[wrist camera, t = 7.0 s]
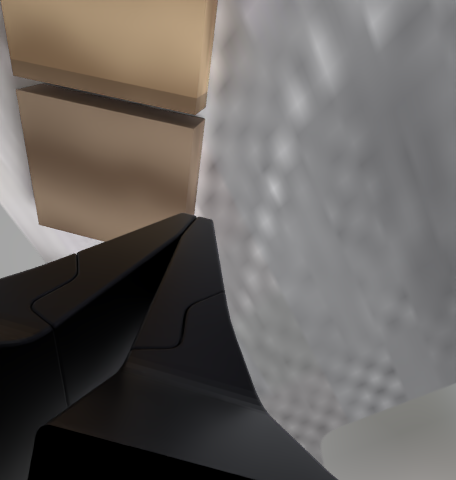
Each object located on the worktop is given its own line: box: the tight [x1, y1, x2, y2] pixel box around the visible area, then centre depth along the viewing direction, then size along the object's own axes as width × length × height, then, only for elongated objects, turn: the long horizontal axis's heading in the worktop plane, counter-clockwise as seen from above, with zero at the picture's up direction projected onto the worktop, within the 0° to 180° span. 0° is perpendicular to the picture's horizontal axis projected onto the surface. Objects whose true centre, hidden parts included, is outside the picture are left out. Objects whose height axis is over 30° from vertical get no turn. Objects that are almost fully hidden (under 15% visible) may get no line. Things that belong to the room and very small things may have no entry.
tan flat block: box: [16, 84, 205, 242], centre depth 22 cm, size 9×10×2 cm
